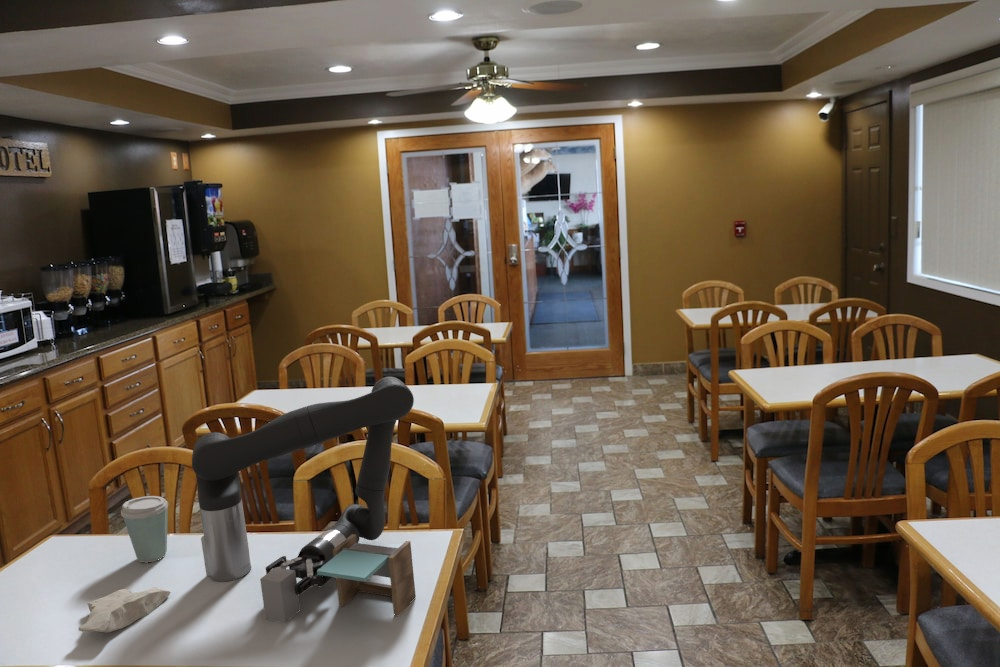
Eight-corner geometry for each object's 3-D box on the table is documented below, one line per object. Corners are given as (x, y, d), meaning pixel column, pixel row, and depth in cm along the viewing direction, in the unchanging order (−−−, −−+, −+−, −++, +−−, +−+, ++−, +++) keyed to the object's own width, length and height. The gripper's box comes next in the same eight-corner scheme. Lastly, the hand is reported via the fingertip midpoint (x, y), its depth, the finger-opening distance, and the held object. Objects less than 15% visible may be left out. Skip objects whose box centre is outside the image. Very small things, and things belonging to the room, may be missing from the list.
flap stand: (358, 588, 173) (352, 534, 171) (415, 597, 168) (410, 541, 165) (339, 606, 167) (332, 549, 164) (398, 616, 161) (392, 557, 159)
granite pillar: (265, 618, 164) (260, 578, 162) (280, 606, 168) (275, 567, 166) (285, 622, 162) (280, 582, 160) (300, 609, 166) (295, 570, 164)
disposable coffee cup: (160, 544, 203) (151, 489, 200) (185, 553, 196) (176, 496, 193) (120, 561, 194) (110, 504, 191) (145, 572, 188) (135, 513, 185)
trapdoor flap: (358, 565, 170) (355, 539, 169) (402, 571, 166) (400, 545, 165) (320, 598, 157) (316, 570, 156) (367, 606, 153) (364, 577, 152)
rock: (48, 642, 161) (102, 646, 156) (43, 621, 161) (98, 624, 155) (130, 596, 181) (181, 598, 175) (126, 577, 180) (177, 578, 175)
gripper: (296, 533, 180) (249, 567, 165) (349, 540, 175) (305, 575, 160) (299, 564, 182) (253, 600, 167) (352, 571, 176) (310, 609, 162)
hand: (279, 588), depth 164 cm, fingers open, 8 cm apart
